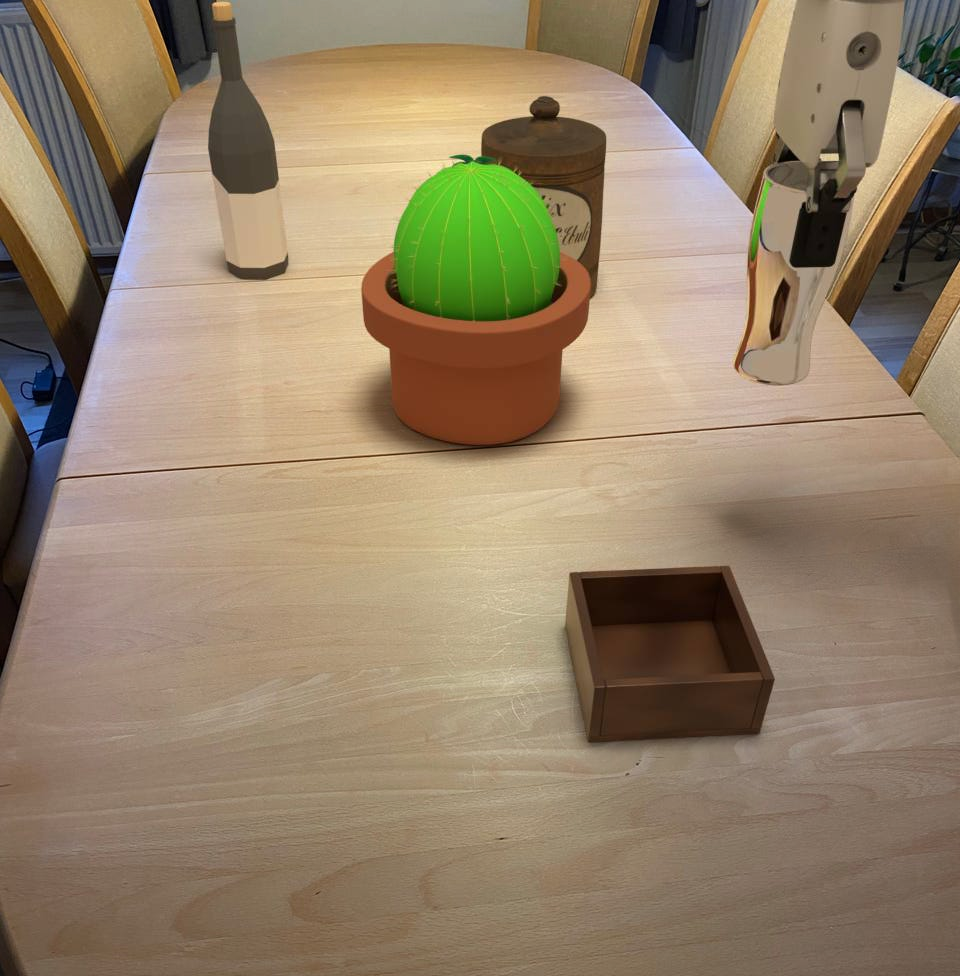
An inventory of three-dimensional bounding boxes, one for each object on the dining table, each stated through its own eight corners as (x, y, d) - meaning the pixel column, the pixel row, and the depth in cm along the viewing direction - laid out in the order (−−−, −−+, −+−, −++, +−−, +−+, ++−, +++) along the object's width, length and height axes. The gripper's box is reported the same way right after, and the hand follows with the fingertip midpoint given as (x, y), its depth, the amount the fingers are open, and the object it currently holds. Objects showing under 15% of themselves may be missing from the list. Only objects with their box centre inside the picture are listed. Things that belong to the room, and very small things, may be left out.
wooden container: (467, 304, 127) (466, 111, 112) (495, 257, 137) (497, 75, 123) (586, 317, 124) (601, 122, 109) (604, 268, 135) (621, 84, 120)
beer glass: (790, 398, 80) (835, 199, 70) (711, 371, 83) (743, 178, 73) (828, 364, 84) (876, 172, 74) (751, 340, 87) (787, 153, 77)
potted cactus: (531, 481, 98) (544, 216, 81) (333, 429, 105) (307, 175, 88) (608, 380, 113) (632, 137, 96) (430, 340, 120) (424, 107, 103)
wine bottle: (296, 275, 133) (265, 8, 113) (234, 284, 131) (191, 14, 111) (281, 251, 139) (249, -7, 118) (222, 260, 136) (178, -2, 116)
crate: (717, 618, 84) (729, 565, 80) (760, 733, 75) (775, 678, 71) (564, 625, 83) (569, 571, 79) (588, 742, 74) (594, 687, 70)
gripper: (968, -10, 58) (885, 293, 70) (868, -62, 71) (812, 202, 83) (838, -8, 58) (776, 295, 70) (760, -61, 71) (720, 203, 83)
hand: (796, 242), depth 76 cm, fingers closed on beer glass, 7 cm apart
